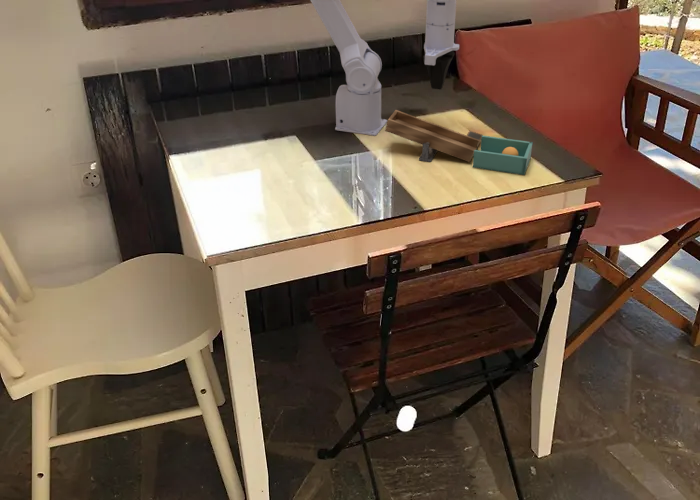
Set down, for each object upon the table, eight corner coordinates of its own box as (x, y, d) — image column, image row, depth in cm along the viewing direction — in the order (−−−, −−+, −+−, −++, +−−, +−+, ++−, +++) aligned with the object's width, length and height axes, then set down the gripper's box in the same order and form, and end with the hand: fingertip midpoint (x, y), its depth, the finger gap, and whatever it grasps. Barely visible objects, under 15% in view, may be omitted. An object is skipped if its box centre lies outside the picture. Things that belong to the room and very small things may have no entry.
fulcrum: (418, 160, 143) (419, 143, 141) (430, 143, 150) (430, 127, 148) (430, 162, 142) (431, 145, 140) (441, 144, 149) (442, 128, 147)
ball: (507, 147, 138) (520, 158, 138) (510, 141, 140) (523, 151, 140) (496, 159, 140) (509, 169, 140) (499, 152, 142) (512, 162, 142)
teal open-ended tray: (472, 167, 140) (474, 151, 138) (480, 151, 146) (482, 135, 144) (524, 175, 137) (526, 158, 135) (530, 158, 143) (532, 142, 141)
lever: (384, 131, 144) (387, 120, 142) (401, 110, 153) (404, 99, 151) (469, 163, 141) (473, 151, 139) (481, 139, 150) (485, 128, 148)
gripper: (451, 34, 136) (447, 102, 143) (468, 13, 147) (464, 78, 154) (415, 31, 138) (413, 98, 145) (435, 10, 149) (432, 74, 156)
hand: (437, 87), depth 150 cm, fingers closed
